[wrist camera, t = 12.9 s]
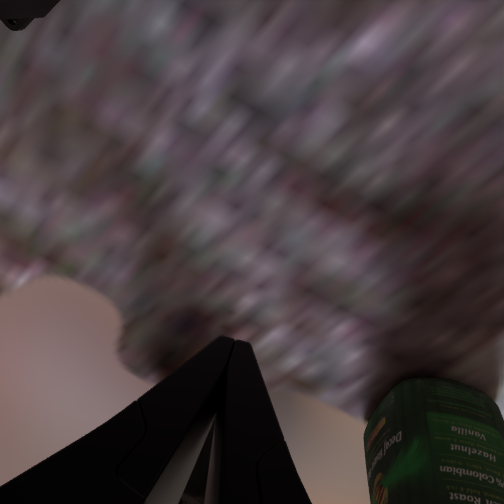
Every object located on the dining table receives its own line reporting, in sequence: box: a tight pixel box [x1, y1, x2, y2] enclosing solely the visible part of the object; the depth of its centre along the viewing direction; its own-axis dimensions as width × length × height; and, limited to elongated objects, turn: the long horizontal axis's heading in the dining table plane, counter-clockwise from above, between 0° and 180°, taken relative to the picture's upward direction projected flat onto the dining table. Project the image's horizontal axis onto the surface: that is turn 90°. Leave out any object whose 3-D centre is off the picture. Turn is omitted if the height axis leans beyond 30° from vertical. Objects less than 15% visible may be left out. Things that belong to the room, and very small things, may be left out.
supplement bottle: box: [178, 409, 218, 504], centre depth 28 cm, size 7×7×12 cm
